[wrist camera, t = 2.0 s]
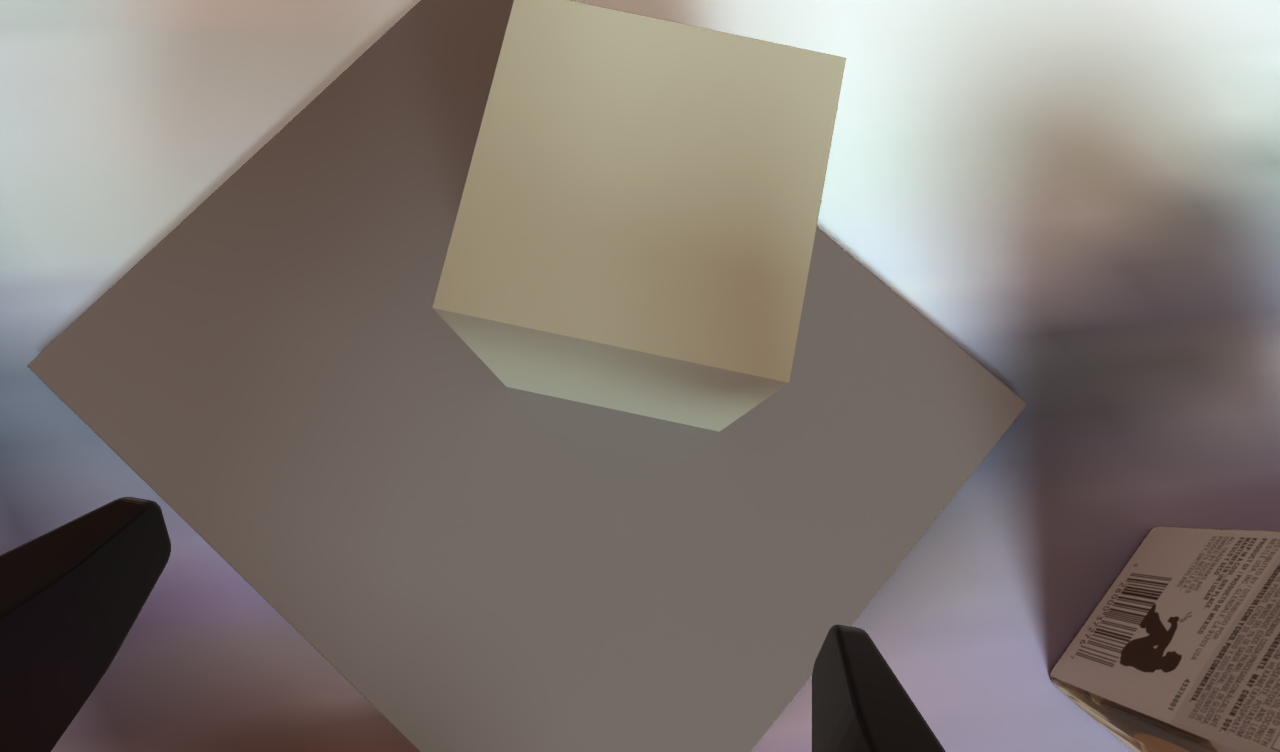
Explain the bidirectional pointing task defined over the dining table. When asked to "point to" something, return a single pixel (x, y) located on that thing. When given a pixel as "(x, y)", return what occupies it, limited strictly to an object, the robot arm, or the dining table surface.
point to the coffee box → (1185, 645)
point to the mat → (504, 445)
